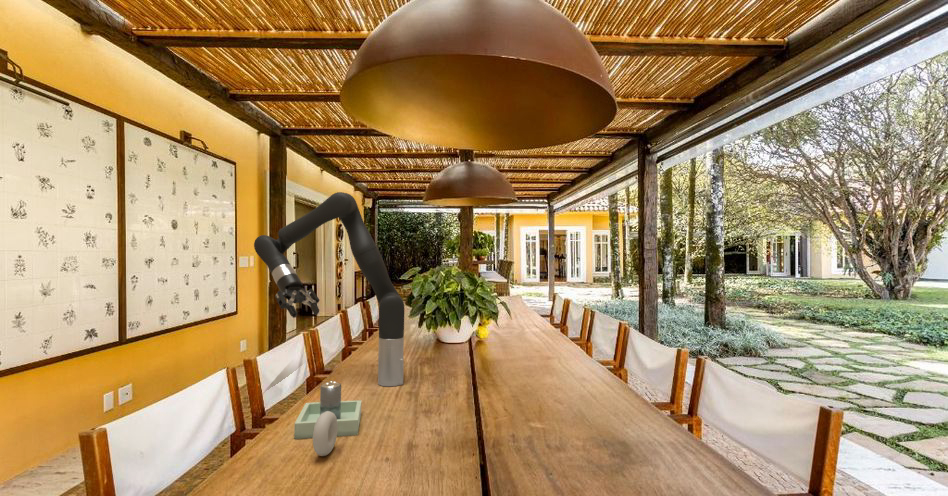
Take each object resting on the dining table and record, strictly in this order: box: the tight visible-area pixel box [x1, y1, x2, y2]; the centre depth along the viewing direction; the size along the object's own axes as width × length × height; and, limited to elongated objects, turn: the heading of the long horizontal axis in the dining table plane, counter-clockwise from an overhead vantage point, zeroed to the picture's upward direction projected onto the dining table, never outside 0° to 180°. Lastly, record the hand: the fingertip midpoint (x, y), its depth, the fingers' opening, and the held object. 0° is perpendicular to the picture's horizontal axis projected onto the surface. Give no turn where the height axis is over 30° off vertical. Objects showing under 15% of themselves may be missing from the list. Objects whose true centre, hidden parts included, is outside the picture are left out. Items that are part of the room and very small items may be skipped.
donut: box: [312, 411, 338, 457], centre depth 105 cm, size 10×4×10 cm, turn 178°
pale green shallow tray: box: [293, 399, 362, 440], centre depth 122 cm, size 16×16×4 cm
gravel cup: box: [319, 380, 342, 419], centre depth 123 cm, size 6×6×11 cm
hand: (306, 314), depth 148 cm, fingers open, 8 cm apart
